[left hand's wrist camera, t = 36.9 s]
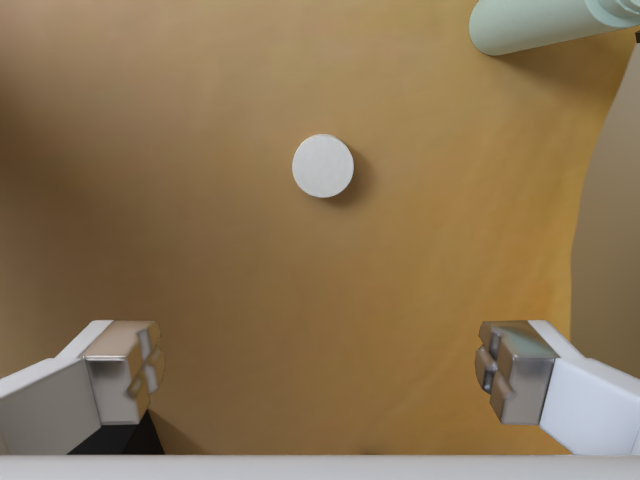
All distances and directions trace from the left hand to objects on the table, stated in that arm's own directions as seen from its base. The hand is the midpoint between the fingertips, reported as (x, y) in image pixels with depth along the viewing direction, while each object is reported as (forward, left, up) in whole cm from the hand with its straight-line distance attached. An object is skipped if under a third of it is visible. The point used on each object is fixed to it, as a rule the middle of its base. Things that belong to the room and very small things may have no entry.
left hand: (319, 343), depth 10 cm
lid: (0, 0, -26) cm, 26 cm away
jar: (+3, +18, -28) cm, 33 cm away
